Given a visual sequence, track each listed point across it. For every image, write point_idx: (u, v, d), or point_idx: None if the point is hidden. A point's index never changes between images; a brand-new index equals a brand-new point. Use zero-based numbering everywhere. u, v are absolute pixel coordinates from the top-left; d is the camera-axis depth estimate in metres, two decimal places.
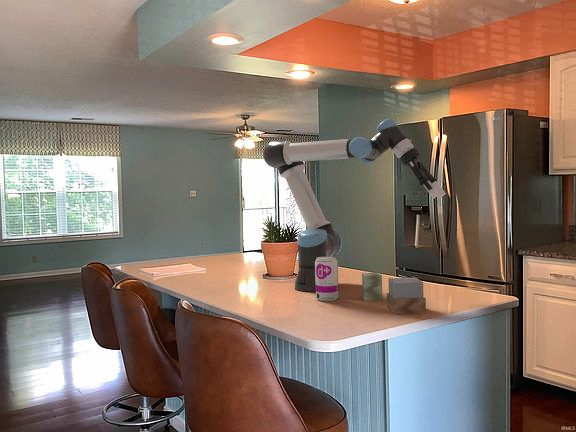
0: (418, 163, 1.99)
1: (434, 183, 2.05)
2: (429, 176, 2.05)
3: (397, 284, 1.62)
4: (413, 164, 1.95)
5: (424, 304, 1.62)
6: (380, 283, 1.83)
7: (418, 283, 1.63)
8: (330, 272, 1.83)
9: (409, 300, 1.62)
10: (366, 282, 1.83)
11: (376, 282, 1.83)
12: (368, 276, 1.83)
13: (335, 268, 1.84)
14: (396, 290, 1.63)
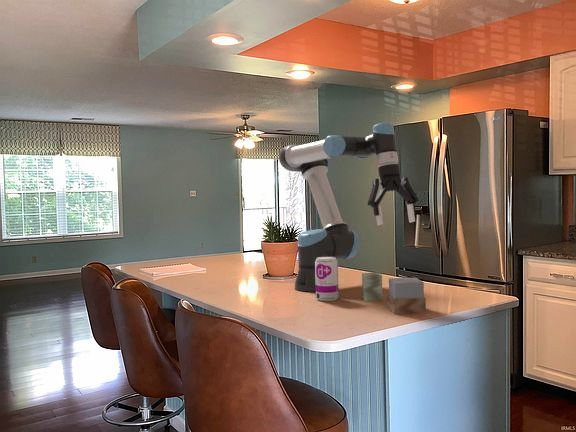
0: (387, 182, 1.85)
1: (409, 205, 1.89)
2: (406, 197, 1.88)
3: (397, 284, 1.62)
4: (375, 183, 1.84)
5: (424, 304, 1.62)
6: (380, 283, 1.83)
7: (418, 283, 1.62)
8: (330, 272, 1.83)
9: (409, 300, 1.62)
10: (366, 282, 1.83)
11: (376, 282, 1.83)
12: (368, 276, 1.83)
13: (335, 268, 1.84)
14: (396, 290, 1.62)
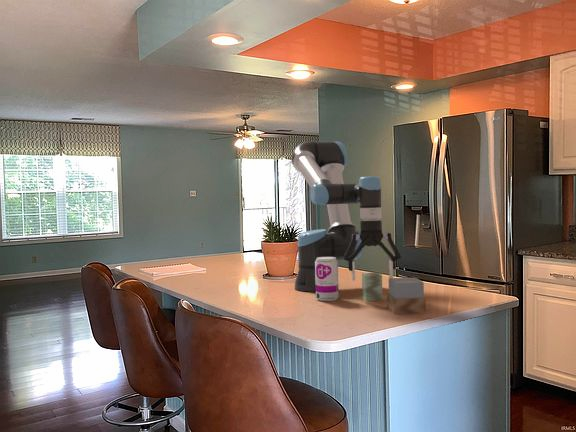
0: (366, 238, 1.83)
1: (390, 262, 1.85)
2: (386, 253, 1.85)
3: (397, 284, 1.62)
4: (352, 238, 1.84)
5: (424, 304, 1.62)
6: (380, 283, 1.83)
7: (418, 283, 1.62)
8: (330, 272, 1.83)
9: (409, 300, 1.62)
10: (366, 282, 1.83)
11: (376, 282, 1.83)
12: (368, 276, 1.83)
13: (335, 268, 1.84)
14: (396, 290, 1.62)
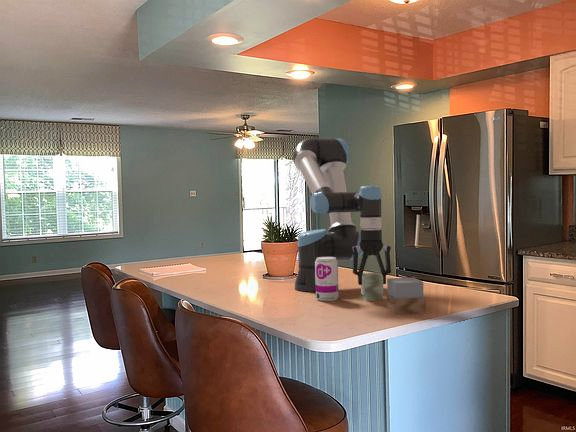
0: (366, 248, 1.84)
1: None
2: (379, 265, 1.85)
3: (398, 284, 1.62)
4: (353, 251, 1.85)
5: (424, 304, 1.62)
6: (380, 283, 1.83)
7: (418, 283, 1.63)
8: (330, 272, 1.83)
9: (409, 300, 1.62)
10: (366, 282, 1.83)
11: (376, 282, 1.83)
12: (368, 276, 1.83)
13: (335, 268, 1.84)
14: (397, 290, 1.62)
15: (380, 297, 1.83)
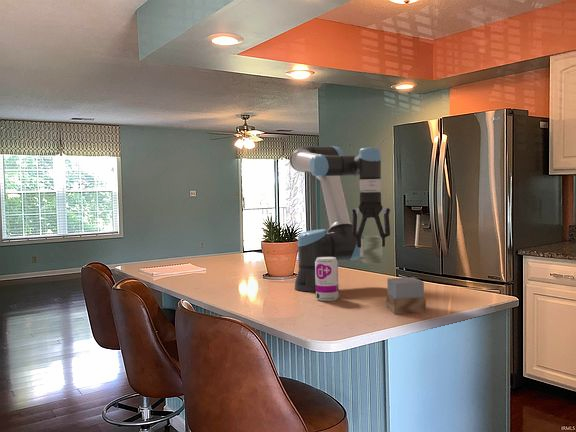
0: (365, 211, 1.83)
1: None
2: (378, 228, 1.85)
3: (398, 284, 1.62)
4: (353, 213, 1.84)
5: (424, 304, 1.62)
6: (379, 245, 1.82)
7: (419, 283, 1.63)
8: (330, 272, 1.83)
9: (409, 300, 1.62)
10: (365, 244, 1.82)
11: (375, 244, 1.82)
12: (367, 238, 1.82)
13: (335, 268, 1.84)
14: (397, 290, 1.62)
15: (379, 259, 1.83)
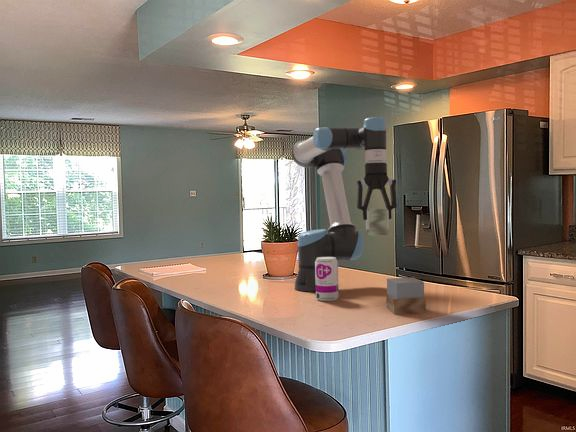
0: (371, 182, 1.79)
1: None
2: (384, 200, 1.80)
3: (399, 284, 1.62)
4: (358, 185, 1.80)
5: (424, 304, 1.62)
6: (385, 217, 1.78)
7: (419, 283, 1.63)
8: (330, 272, 1.83)
9: (409, 300, 1.62)
10: (371, 216, 1.78)
11: (381, 216, 1.78)
12: (373, 210, 1.78)
13: (335, 268, 1.84)
14: (398, 290, 1.62)
15: (385, 231, 1.78)
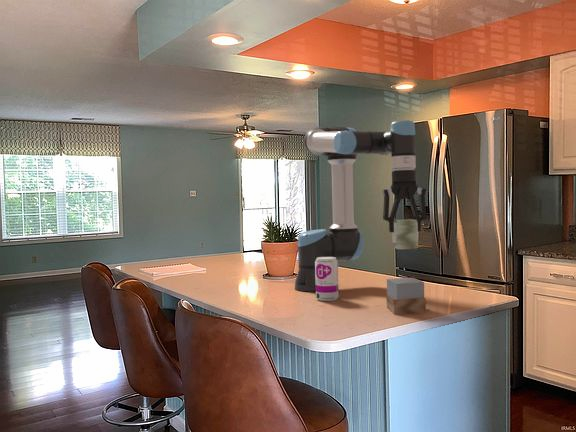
0: (398, 191, 1.64)
1: None
2: (413, 211, 1.65)
3: (399, 285, 1.62)
4: (384, 194, 1.65)
5: (424, 304, 1.62)
6: (414, 229, 1.63)
7: (419, 283, 1.62)
8: (330, 272, 1.83)
9: (409, 300, 1.62)
10: (399, 228, 1.63)
11: (410, 228, 1.63)
12: (401, 222, 1.63)
13: (335, 268, 1.84)
14: (398, 291, 1.62)
15: (414, 245, 1.63)
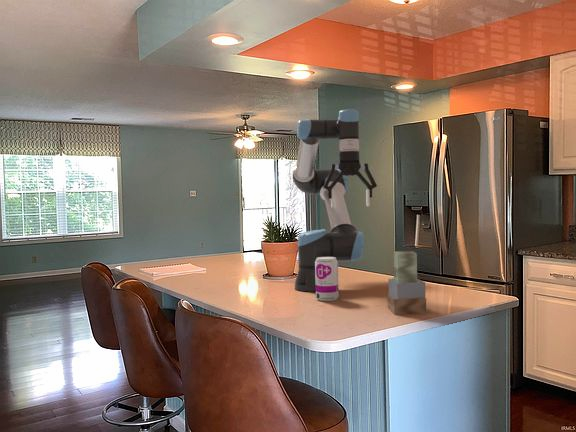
0: (344, 168, 1.96)
1: (366, 190, 1.98)
2: (363, 182, 1.98)
3: (400, 284, 1.61)
4: (331, 168, 1.97)
5: (424, 304, 1.62)
6: (415, 262, 1.63)
7: (420, 283, 1.62)
8: (330, 272, 1.83)
9: (409, 300, 1.61)
10: (399, 261, 1.63)
11: (410, 261, 1.63)
12: (401, 255, 1.63)
13: (335, 268, 1.84)
14: (399, 290, 1.61)
15: (414, 278, 1.63)
